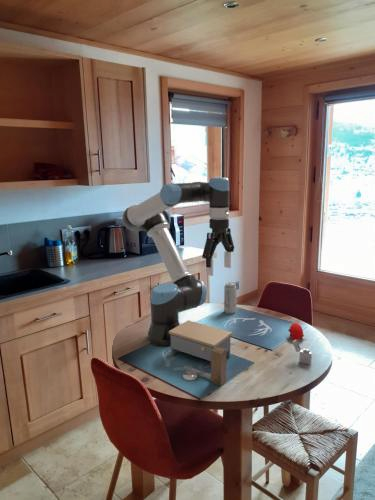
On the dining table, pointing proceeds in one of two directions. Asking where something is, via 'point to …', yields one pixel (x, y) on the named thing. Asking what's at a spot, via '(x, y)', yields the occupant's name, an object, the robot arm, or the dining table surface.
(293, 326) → the red egg shape
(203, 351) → the cabinet
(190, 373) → the steel token
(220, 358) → the blade tool
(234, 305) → the energy drink can
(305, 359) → the lighter
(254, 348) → the dining table surface
